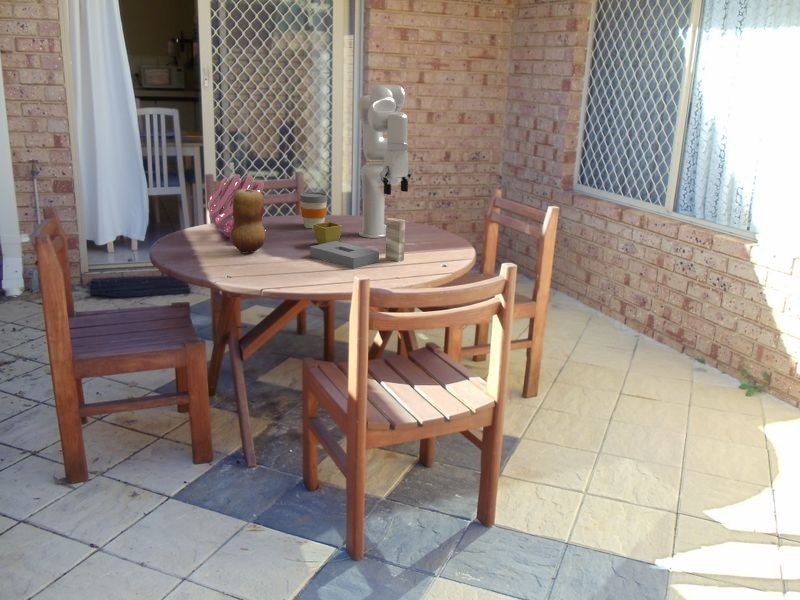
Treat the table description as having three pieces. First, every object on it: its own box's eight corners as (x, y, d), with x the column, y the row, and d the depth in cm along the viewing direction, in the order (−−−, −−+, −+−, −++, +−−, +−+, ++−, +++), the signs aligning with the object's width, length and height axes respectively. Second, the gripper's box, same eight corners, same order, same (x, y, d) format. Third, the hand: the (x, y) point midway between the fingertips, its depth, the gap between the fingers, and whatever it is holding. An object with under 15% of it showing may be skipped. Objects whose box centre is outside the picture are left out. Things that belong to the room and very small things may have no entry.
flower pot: (324, 249, 301) (324, 227, 298) (312, 244, 307) (312, 223, 304) (342, 246, 306) (342, 225, 304) (330, 242, 313) (330, 221, 310)
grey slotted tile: (335, 250, 300) (335, 240, 298) (378, 261, 285) (379, 251, 284) (310, 256, 290) (310, 246, 288) (353, 268, 275) (353, 258, 274)
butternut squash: (263, 256, 288) (261, 193, 280) (229, 256, 287) (225, 192, 279) (267, 247, 301) (265, 187, 293) (234, 247, 300) (231, 186, 292)
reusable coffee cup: (323, 230, 333) (322, 197, 328) (296, 228, 335) (296, 196, 330) (331, 224, 344) (330, 193, 340) (305, 223, 347) (305, 191, 342)
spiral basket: (289, 187, 325) (235, 152, 315) (282, 215, 301) (224, 178, 292) (256, 233, 336) (203, 200, 327) (247, 263, 313) (190, 229, 303)
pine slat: (390, 257, 292) (391, 217, 287) (403, 260, 288) (405, 220, 283) (385, 258, 290) (386, 218, 285) (398, 261, 285) (399, 221, 280)
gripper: (404, 144, 284) (403, 189, 289) (373, 148, 271) (373, 194, 276) (419, 146, 279) (417, 191, 284) (388, 150, 266) (387, 196, 272)
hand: (395, 192), depth 280 cm, fingers open, 9 cm apart
